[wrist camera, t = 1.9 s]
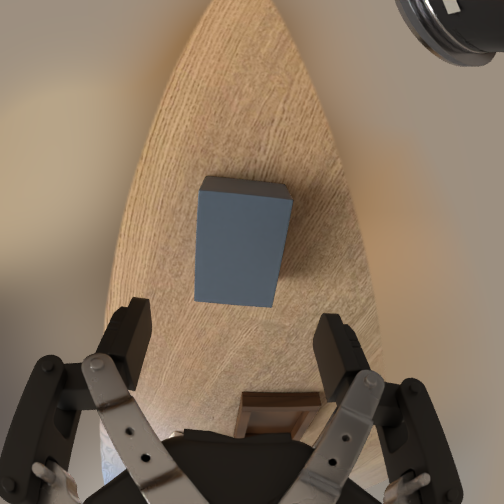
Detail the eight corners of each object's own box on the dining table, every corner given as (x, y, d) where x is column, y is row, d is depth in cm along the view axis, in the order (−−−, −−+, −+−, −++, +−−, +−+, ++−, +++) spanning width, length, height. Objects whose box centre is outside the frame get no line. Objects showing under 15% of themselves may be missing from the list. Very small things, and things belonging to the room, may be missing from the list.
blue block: (205, 175, 19) (198, 190, 16) (285, 184, 20) (293, 199, 17) (199, 274, 23) (194, 301, 20) (268, 280, 23) (272, 307, 20)
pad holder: (242, 391, 31) (242, 406, 29) (318, 392, 32) (321, 405, 30) (234, 432, 37) (234, 444, 35) (295, 432, 37) (297, 443, 36)
